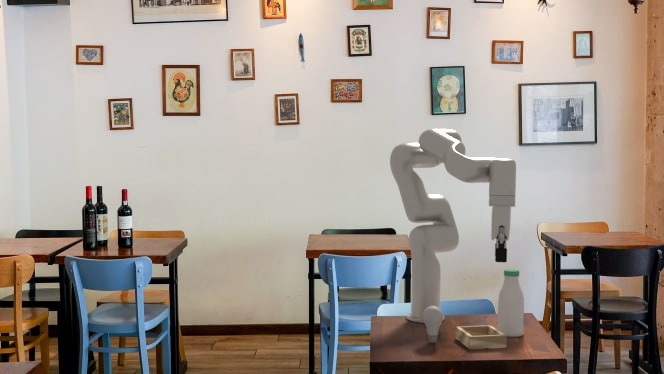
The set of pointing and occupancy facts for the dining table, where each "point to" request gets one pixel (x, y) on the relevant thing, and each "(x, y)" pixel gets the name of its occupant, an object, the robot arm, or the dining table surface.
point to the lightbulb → (432, 321)
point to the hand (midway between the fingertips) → (500, 259)
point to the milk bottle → (511, 305)
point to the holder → (481, 337)
